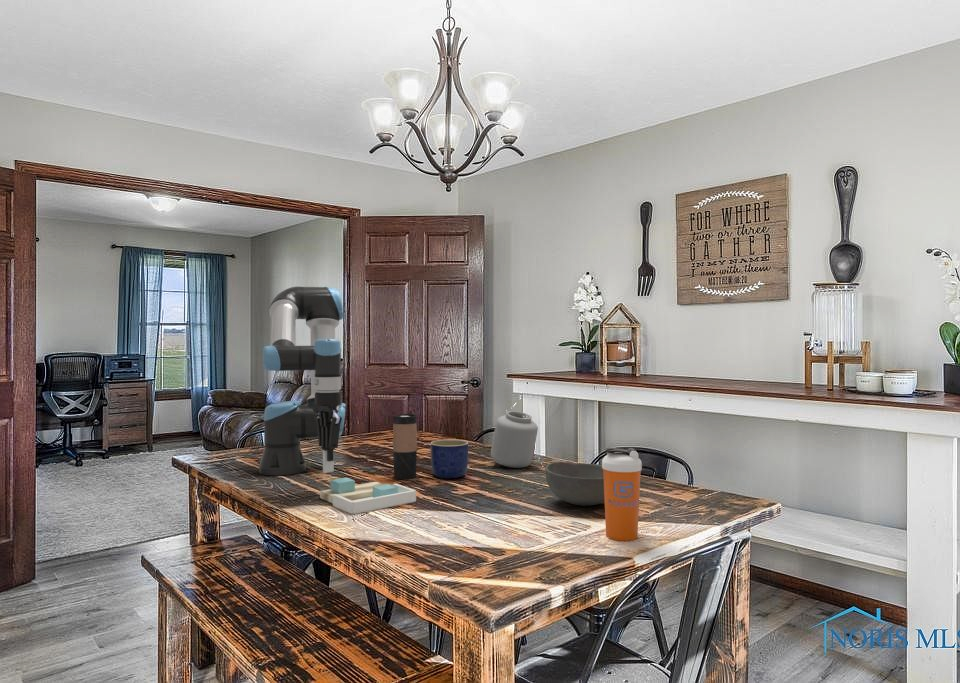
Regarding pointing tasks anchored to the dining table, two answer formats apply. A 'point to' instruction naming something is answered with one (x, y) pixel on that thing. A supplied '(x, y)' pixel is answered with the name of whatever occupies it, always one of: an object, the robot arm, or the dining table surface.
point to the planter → (449, 458)
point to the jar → (514, 440)
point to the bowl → (576, 482)
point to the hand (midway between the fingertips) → (328, 471)
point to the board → (359, 493)
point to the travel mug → (404, 446)
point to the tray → (375, 501)
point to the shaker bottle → (621, 493)
